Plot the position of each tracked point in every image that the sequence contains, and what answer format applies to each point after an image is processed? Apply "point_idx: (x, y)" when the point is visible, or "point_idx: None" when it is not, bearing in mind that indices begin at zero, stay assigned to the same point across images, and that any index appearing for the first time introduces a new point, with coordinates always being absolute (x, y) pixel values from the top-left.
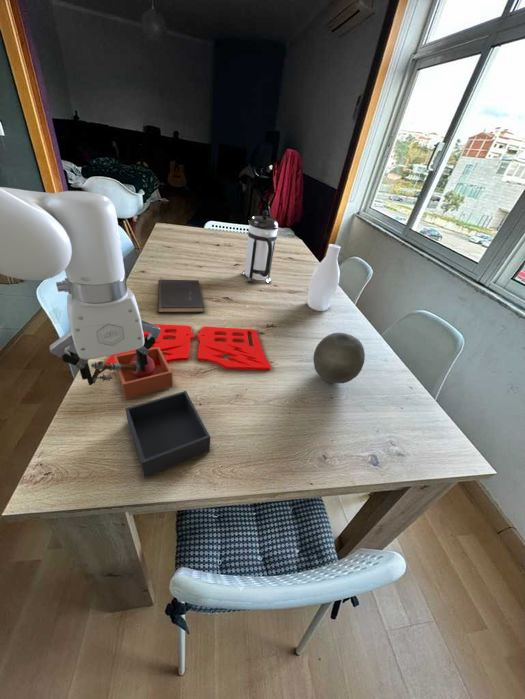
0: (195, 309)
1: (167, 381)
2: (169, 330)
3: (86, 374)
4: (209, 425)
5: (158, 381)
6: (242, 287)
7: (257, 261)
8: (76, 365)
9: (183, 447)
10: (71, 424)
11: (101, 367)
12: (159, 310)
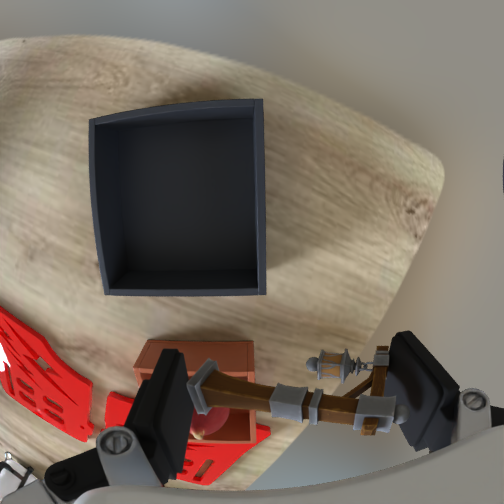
0: None
1: (152, 352)
2: None
3: (440, 365)
4: None
5: None
6: (39, 467)
7: (12, 485)
8: (488, 400)
9: (154, 107)
10: (362, 309)
11: (368, 403)
12: None
